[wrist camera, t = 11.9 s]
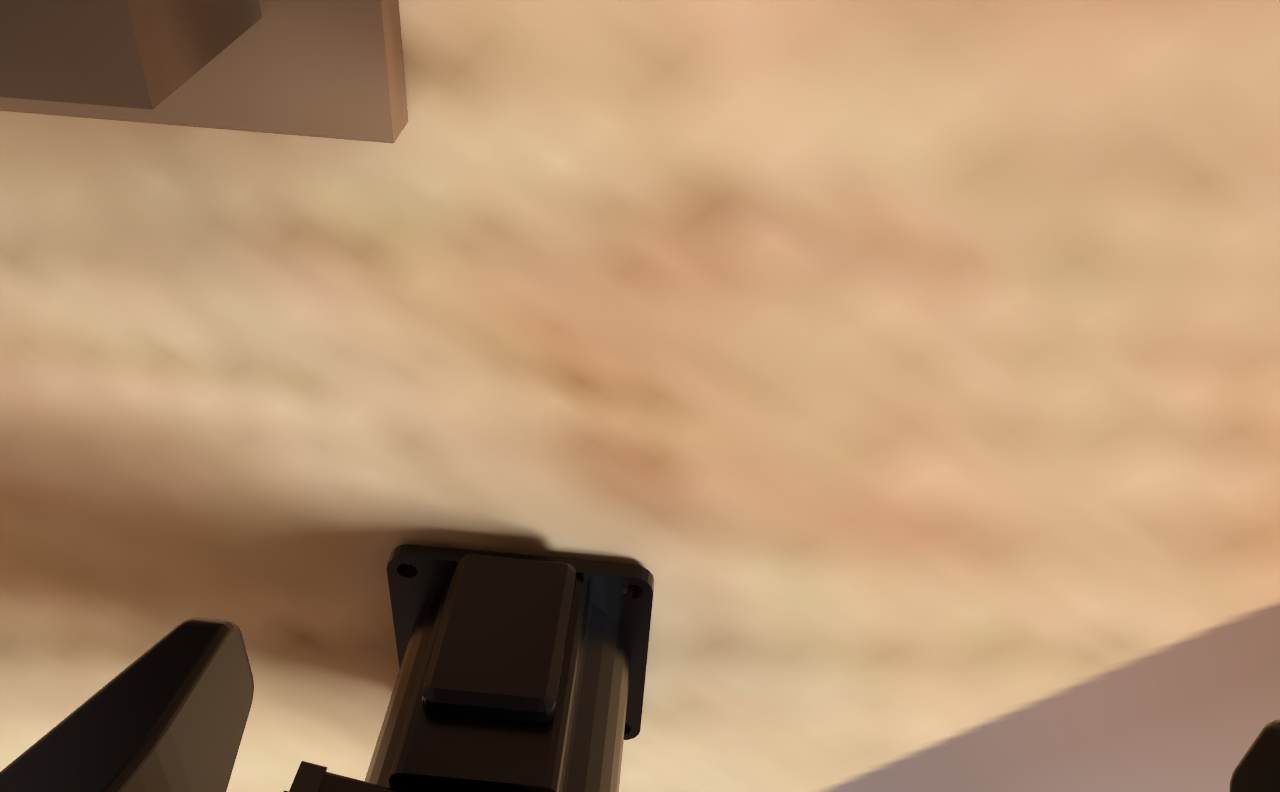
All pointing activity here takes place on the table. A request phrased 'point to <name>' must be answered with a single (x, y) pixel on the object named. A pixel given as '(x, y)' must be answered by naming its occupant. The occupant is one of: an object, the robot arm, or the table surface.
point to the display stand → (210, 64)
